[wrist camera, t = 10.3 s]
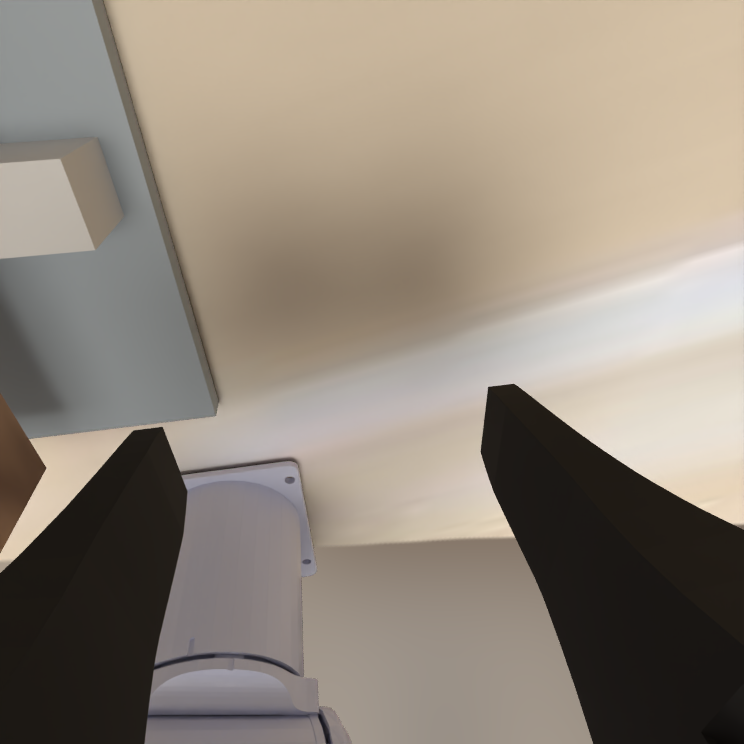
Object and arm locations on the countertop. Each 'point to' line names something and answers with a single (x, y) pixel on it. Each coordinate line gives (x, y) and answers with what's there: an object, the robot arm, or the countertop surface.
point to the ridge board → (92, 295)
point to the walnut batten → (15, 471)
